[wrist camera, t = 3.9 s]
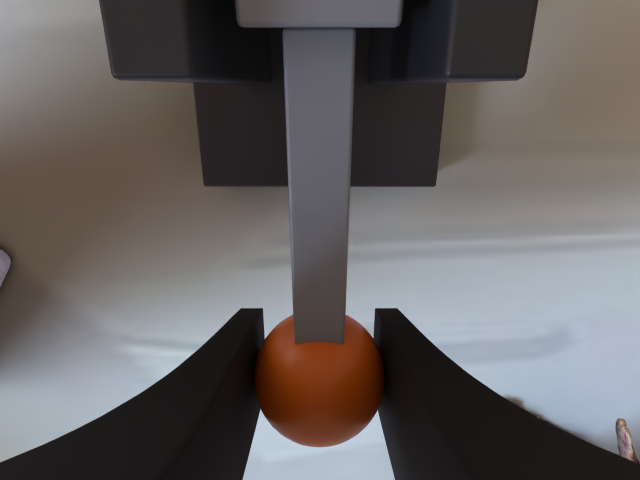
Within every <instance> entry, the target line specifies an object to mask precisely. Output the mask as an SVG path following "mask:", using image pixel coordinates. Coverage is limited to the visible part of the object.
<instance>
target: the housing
mask: <svg viewBox="0 0 640 480" xmlns="http://www.w3.org/2000/svg"><path fill="white" fill-rule="evenodd" d="M99 2H100V8H101V14H102V20H103V26H104V32H105V38H106V44H107V50H108V55H109V61H110V67H111V73H112V75H113V77H114V78H116V79H118V80H130V81H161V82H193V86H194V96H195V105H196V115H197V125H198V134H199V144H200V153H201V163H202V173H203V182H204V186H206V187H288V163H287V137H286V111H285V85H284V60H283V34H282V32H283V29H284V28H286V27H241V26H239V25H238V23H237V20H236V11H235V0H99ZM537 4H538V0H404V1H403V13H402V21H401V23H400V25H399V26H397V27H353V28H355V31H356V45H355V72H354V98H353V125H352V151H351V177H350V187H433V186H435V185H436V178H437V169H438V159H439V149H440V140H441V130H442V121H443V111H444V102H445V92H446V83H450V82H482V81H514V80H519V79H521V78H523V77H524V75H525V73H526V70H527V64H528V58H529V52H530V46H531V40H532V34H533V28H534V22H535V16H536V10H537Z"/></svg>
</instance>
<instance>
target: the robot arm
mask: <svg viewBox="0 0 640 480" xmlns="http://www.w3.org/2000/svg"><path fill="white" fill-rule="evenodd" d="M10 264H11V261H10V258H9V256H8V255H7V253H5V252H4V251H3V250H1V249H0V287H1V285H2V282H3V280H4V278H5V276H6V274H7V272H8V270H9V268H10ZM264 340H265V338H264V321H263V308H241V309H240V310H239V311H238V312H237V313H236V314H235V315H234V316H233V317H232V318H231V319H230V320H229V321H228V322H227V323H226V324H225V325H224V326H223V327H222V328H221V329H220V330H219V331H218V332H216V333H215V334H214V335H213V336H212V337H211V338H210V339H209V340H208V341H207V342H206V343H205V344H204V345H203V346H202V347H201V348H200V349H198V350H197V351H196V352H195V353H194V354H192V355H191V356H190V357H189V358H188V359H187V360H185V361H184V362H183V363H182V364H181V365H179V366H178V367H177V368H176V369H174V370H173V371H172V372H170V373H169V374H168V375H166V376H165V377H164V378H162V379H161V380H159V381H158V382H156V383H155V384H154V385H152V386H151V387H149V388H148V389H146V390H145V391H143V392H142V393H140V394H139V395H137V396H135V397H133V398H132V399H130V400H128V401H127V402H125V403H123V404H122V405H120V406H118V407H116V408H115V409H113V410H111V411H110V412H108V413H106V414H105V415H103V416H101V417H99V418H97V419H95V420H93V421H91V422H89V423H88V424H86V425H84V426H82V427H80V428H78V429H76V430H74V431H72V432H69V433H67V434H65V435H63V436H61V437H59V438H57V439H55V440H53V441H50V442H48V443H46V444H44V445H42V446H39V447H37V448H34V449H32V450H30V451H27V452H25V453H22V454H20V455H17V456H15V457H13V458H10V459H8V460H5V461H3V462H1V463H0V480H242V479H243V475H244V471H245V468H246V464H247V460H248V456H249V452H250V448H251V444H252V440H253V436H254V432H255V428H256V424H257V420H258V416H259V412H260V406H259V403H258V401H257V397H256V393H255V388H254V370H255V363H256V359H257V356H258V353H259V350H260V348H261V346H262V344H263V342H264ZM374 341H375V343H376V344H377V346H378V348H379V351H380V353H381V356H382V360H383V364H384V372H385V385H384V392H383V396H382V400H381V403H380V405H379V408H378V413H379V417H380V421H381V425H382V429H383V433H384V437H385V441H386V445H387V449H388V453H389V457H390V461H391V465H392V469H393V473H394V477H395V480H640V464H639V463H636V462H634V461H631V460H629V459H627V458H624V457H622V456H619V455H617V454H614V453H612V452H609V451H607V450H605V449H602V448H600V447H597V446H595V445H593V444H590V443H588V442H586V441H584V440H582V439H580V438H578V437H576V436H574V435H572V434H569V433H567V432H565V431H563V430H561V429H559V428H557V427H555V426H553V425H551V424H549V423H547V422H545V421H544V420H542V419H540V418H538V417H536V416H534V415H532V414H531V413H529V412H527V411H525V410H524V409H522V408H520V407H519V406H517V405H515V404H513V403H512V402H510V401H508V400H507V399H505V398H503V397H502V396H500V395H499V394H497V393H496V392H494V391H493V390H491V389H490V388H488V387H487V386H485V385H484V384H482V383H481V382H480V381H478V380H477V379H475V378H474V377H472V376H471V375H470V374H468V373H467V372H466V371H464V370H463V369H462V368H461V367H459V366H458V365H457V364H456V363H455V362H453V361H452V360H451V359H450V358H448V357H447V356H446V355H445V354H444V353H443V352H441V351H440V350H439V349H438V348H437V347H436V346H435V345H434V344H433V343H431V342H430V341H429V340H428V339H427V338H426V337H425V336H424V335H423V334H422V333H421V332H420V331H419V330H418V329H417V328H416V327H415V326H414V325H413V324H412V323H411V322H410V321H409V320H408V319H407V318H406V317H405V316H404V315H403V314H402V313H401V312H400V311H399V310H398V309H397V308H375V322H374Z"/></svg>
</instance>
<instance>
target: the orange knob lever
mask: <svg viewBox="0 0 640 480" xmlns="http://www.w3.org/2000/svg"><path fill="white" fill-rule="evenodd" d="M403 1H404V0H235V11H236V20H237V23H238V25H239V26H241V27H286V28H284V29H283V32H282V34H283V60H284V85H285V111H286V137H287V163H288V189H289V214H290V240H291V266H292V292H293V315H292V316H290V317H288V318H286V319H285V320H283V321H282V322H280V323H279V324H278V325H277V326H276V327H275V328H274V329H273V330H272V331H271V332H270V334H269V335H268V336H267V337H266V339H265V340H264V342H263V344H262V346H261V348H260V350H259V353H258V356H257V359H256V363H255V370H254V388H255V393H256V397H257V401H258V403H259V406H260V408H261V410H262V412H263V414H264V416H265V417H266V419H267V420H268V422H269V423H270V424H271V425H272V426H273V427H274V428H275V429H276V430H277V431H278V432H279V433H280V434H282V435H283V436H284V437H286V438H288V439H290V440H292V441H293V442H296V443H298V444H301V445H305V446H311V447H328V446H334V445H337V444H341V443H343V442H345V441H347V440H349V439H351V438H353V437H354V436H356V435H357V434H359V433H360V432H361V431H362V430H363V429H364V428H365V427H366V426H367V425H368V424H369V422H370V421H371V420H372V418H373V417H374V415H375V414H376V412H377V410H378V408H379V405H380V403H381V400H382V396H383V392H384V385H385V372H384V364H383V360H382V356H381V353H380V351H379V348H378V346H377V344H376V343H375V341H374V339H373V338H372V336H371V335H370V334H369V332H368V331H367V330H366V329H365V328H364V327H363V326H362V325H361V324H360V323H358V322H357V321H356V320H354V319H353V318H351V317H349V316H347V315H345V309H346V283H347V257H348V230H349V204H350V177H351V151H352V125H353V98H354V72H355V45H356V31H355V28H353V27H397V26H399V25H400V23H401V21H402V13H403Z"/></svg>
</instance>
